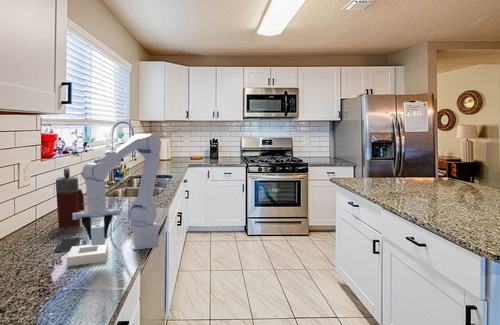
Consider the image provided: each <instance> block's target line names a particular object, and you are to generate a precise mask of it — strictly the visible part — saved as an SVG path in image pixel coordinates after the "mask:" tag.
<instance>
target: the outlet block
mask: <svg viewBox="0 0 500 325" xmlns="http://www.w3.org/2000/svg"><path fill="white" fill-rule="evenodd" d="M108 245H109V244H108V242H105V244H104V245H96V246H92V243H90V244H82V245H79V246H72V248H71V250H70V251H68V254H67V255H66V266H67V267H71V266H72V267H73V266H79V265H80V266H81V265H87V264H89V265H90V264H94V263H95V264H97V263H102V262H107V257H108V251H109V248H108V247H109V246H108Z"/></svg>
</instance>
